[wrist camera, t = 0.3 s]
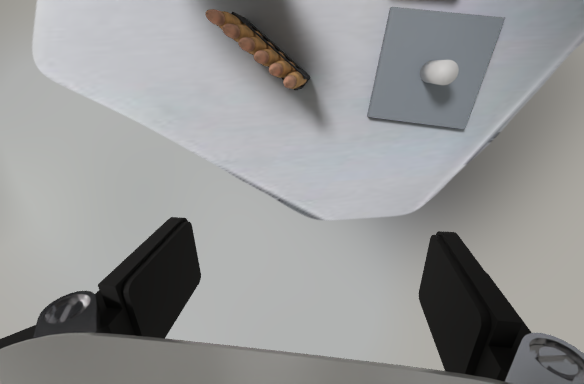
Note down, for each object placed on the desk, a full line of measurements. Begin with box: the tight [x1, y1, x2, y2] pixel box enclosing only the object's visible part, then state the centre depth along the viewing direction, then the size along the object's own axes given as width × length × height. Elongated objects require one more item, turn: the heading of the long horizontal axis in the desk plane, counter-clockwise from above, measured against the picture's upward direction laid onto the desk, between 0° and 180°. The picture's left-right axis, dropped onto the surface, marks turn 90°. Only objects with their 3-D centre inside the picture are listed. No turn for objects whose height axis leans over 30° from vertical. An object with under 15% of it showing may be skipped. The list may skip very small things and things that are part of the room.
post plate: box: [367, 7, 505, 129], centre depth 31 cm, size 12×12×6 cm
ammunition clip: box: [206, 9, 310, 90], centre depth 30 cm, size 11×2×12 cm, turn 51°
